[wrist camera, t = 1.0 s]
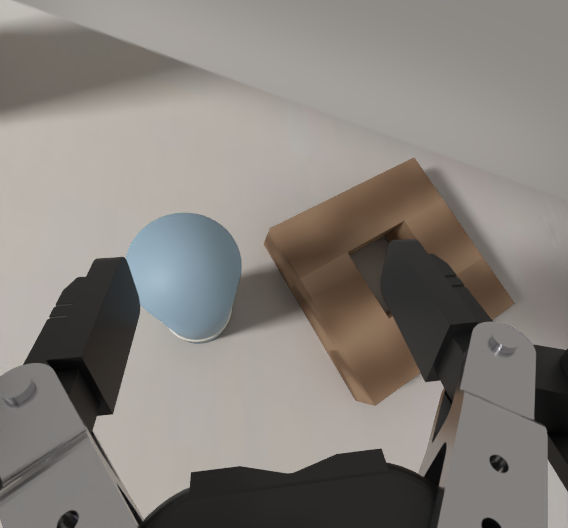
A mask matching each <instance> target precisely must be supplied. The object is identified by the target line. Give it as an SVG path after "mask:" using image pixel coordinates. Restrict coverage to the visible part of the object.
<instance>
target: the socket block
mask: <svg viewBox="0 0 568 528" xmlns="http://www.w3.org/2000/svg"><path fill="white" fill-rule="evenodd" d="M383 236H385V238H386V239H387V241H388V242H389V243H390V242H391V241H392V240H405V239H417V240H418V241H419V242H420V243H421V245H422V246H423V247H424V249H425V250H426V251H427V253H428V254H435V255H436V256H438V257H439V258H441V259H442V260H444V261H445V262H447V263H448V264H449V266H450V267H451V268H452V269H453V271H454V272H455V273H456V275H457V277H459V278H460V280H461V281H462V282H463V283H464V287H467V289H468V290H469V291H470V292H471V294H472V295H473V296H474V298H475V299H476V300H477V301H478V303H479V304H480V305H481V306H482V308H483V309H484V310H485V312H486V313H487V314H488V315H489V317H490V318H491V319H492V320H493V319H494V318H496V317H497V316H498V315H500V314H501V313H502V312H504V311H505V310H506V309H508V308H509V307H511V306H512V305H513V304H515V303H514V302H513V300H512V299H511V297H510V296H509V295H508V293H507V292H506V290H505V289H504V287H503V286H502V284H501V283H500V281H499V280H498V279H497V277H496V276H495V274H494V273H493V271H492V270H491V268H490V267H489V265H488V264H487V263H486V261H485V260H484V258H483V257H482V255H481V254H480V252H479V251H478V250H477V248H476V247H475V245H474V244H473V242H472V241H471V239H470V238H469V236H468V235H467V234H466V232H465V231H464V229H463V228H462V226H461V225H460V223H459V222H458V220H457V219H456V218H455V216H454V215H453V213H452V212H451V210H450V209H449V207H448V206H447V204H446V203H445V202H444V200H443V199H442V197H441V196H440V194H439V193H438V191H437V190H436V188H435V187H434V186H433V184H432V183H431V181H430V180H429V178H428V177H427V175H426V174H425V172H424V171H423V170H422V168H421V167H420V165H419V164H418V162H417V161H416V159H415V158H412V159H410V160H408V161H406V162H404V163H402V164H400V165H398V166H396V167H394V168H392V169H390V170H388V171H386V172H384V173H381V174H379V175H377V176H375V177H373V178H371V179H369V180H367V181H365V182H363V183H361V184H359V185H357V186H355V187H353V188H351V189H349V190H347V191H345V192H343V193H341V194H339V195H337V196H335V197H333V198H331V199H329V200H327V201H325V202H323V203H321V204H319V205H317V206H315V207H312V208H310V209H308V210H306V211H304V212H302V213H300V214H298V215H296V216H294V217H292V218H290V219H288V220H286V221H284V222H282V223H280V224H278V225H276V226H274V227H272V228H270V230H269V232H268V235H267V237H266V240H265V242H264V245H265V247H266V249H267V250H268V252H269V254H270V255H271V257H272V259H273V261H274V262H275V264H276V266H277V267H278V269H279V271H280V272H281V274H282V276H283V278H284V279H285V281H286V283H287V284H288V286H289V288H290V290H291V291H292V293H293V295H294V296H295V298H296V300H297V301H298V303H299V305H300V307H301V308H302V310H303V312H304V313H305V315H306V317H307V318H308V320H309V322H310V324H311V325H312V327H313V329H314V330H315V332H316V334H317V335H318V337H319V339H320V341H321V342H322V344H323V346H324V347H325V349H326V351H327V353H328V354H329V356H330V358H331V359H332V361H333V363H334V364H335V366H336V368H337V370H338V371H339V373H340V375H341V376H342V378H343V380H344V381H345V383H346V385H347V387H348V388H349V390H350V392H351V393H352V395H353V397H354V398H355V400H356V401H359V402H363V403H367V404H371V405H375V406H376V405H377V404H378V403H380V402H381V401H382V400H384V399H385V398H386V397H388V396H389V395H391V394H392V393H393V392H395V391H396V390H397V389H399V388H400V387H401V386H403V385H404V384H406V383H407V382H408V381H410V380H411V379H412V378H414V377H415V376H416V375H418V374H419V373H421V372H420V370H419V368H418V366H417V364H416V362H415V360H414V358H413V356H412V354H411V352H410V350H409V348H408V346H407V344H406V342H405V340H404V338H403V336H402V334H401V332H400V330H399V328H398V326H397V324H396V322H395V320H394V318H393V316H392V314H391V312H390V311H389V312H387V313H385V312H384V310H383V308H382V307H381V305H380V304H379V302H378V300H377V299H376V297H375V296H374V294H373V292H372V291H371V289H370V288H369V286H368V284H367V283H366V281H365V280H364V278H363V276H362V275H361V273H360V272H359V270H358V268H357V267H356V265H355V264H354V262H353V260H352V259H351V257H350V256H349V255H351V254H353V253H355V252H356V251H358V250H360V249H362V248H363V247H365V246H367V245H369V244H371V243H372V242H374V241H376V240H378V239H380V238H381V237H383Z"/></svg>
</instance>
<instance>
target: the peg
mask: <svg viewBox="0 0 568 528" xmlns="http://www.w3.org/2000/svg"><path fill="white" fill-rule="evenodd" d="M126 260H127V262H128V265H129V268H130V271H131V274H132V277H133V280H134V283H135V286H136V289H137V292H138V295H139V300H140V305H141V306H142V307H143V308H144V309H145V310H147V311H148V312H149V313H151V314H152V315H153V316H154V317H156V318H157V319H158V320H159V321H161V322H162V323H163V324H164V325H166V326H167V327H168V328H169V329H170V331H171V332H172V333H174V334H175V335H176V336H178V337H179V338H181V339H184V340H186V341H188V342H191V343H197V344H200V343H207V342H210V341H212V340H214V339H215V338H217V337H218V336H219V335H220V334H221V333H222V332H223V331H224V329H225V327H226V325H227V324H228V322H229V320H230V317H231V313H232V305H233V301H234V298H235V294H236V291H237V287H238V284H239V280H240V276H241V256H240V252H239V249H238V246H237V244H236V242H235V240H234V239H233V237H232V236H231V234H230V233H229V232H228V231H227V230H226V229H225V228H224V227H223V226H222V225H220V224H219V223H217V222H216V221H214V220H212V219H210V218H208V217H205V216H203V215H199V214H194V213H175V214H170V215H166V216H164V217H161V218H158V219H156V220H155V221H153V222H151V223H150V224H148V225H147V226H146V227H144V228H143V229H142V230H141V231H140V232H139V233H138V234H137V236H136V237H135V238H134V240H133V241H132V243H131V245H130V247H129V250H128V253H127V256H126Z"/></svg>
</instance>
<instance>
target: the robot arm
mask: <svg viewBox="0 0 568 528" xmlns="http://www.w3.org/2000/svg"><path fill="white" fill-rule="evenodd" d="M381 291H382V295H383V297H384V300H385V302H386V304H387V306H388V308H389V310H390V312H391V314H392V316H393V318H394V320H395V322H396V324H397V326H398V328H399V330H400V332H401V334H402V336H403V338H404V340H405V342H406V344H407V346H408V348H409V350H410V352H411V354H412V356H413V358H414V360H415V362H416V364H417V366H418V368H419V370H420V372H421V374H422V376H423V378H424V380H425V382H430V381H439V380H440V381H441V382H442V384H443V386H444V389H443V391H442V394H441V397H440V401H439V405H438V409H437V412H436V416H435V420H434V424H433V428H432V432H431V435H430V439H429V443H428V447H427V450H426V453H425V456H424V459H423V461H422V464H421V466H420V469H419V472H418V474H417V473H416V472H414V471H411V470H409V469H407V468H404V467H402V466H398V465H395V464H391V463H386V461H385V458H384V455H383V452H382V449H374V450H366V451H358V452H350V453H342V454H336V455H334V456H331V457H329V458H327V459H324V460H322V461H320V462H318V463H315V464H313V465H311V466H308V467H306V468H304V469H301V470H299V471H297V472H294V473H289V474H287V473H280V472H273V471H267V470H260V469H254V468H247V467H241V466H238V467H231V468H223V469H215V470H207V471H199V472H191V481H190V487H189V488H187V489H185V490H183V491H181V492H179V493H177V494H175V495H174V496H172V497H170V498H169V499H168V500H166V501H165V502H163V503H162V504H161V505H159V506H158V507H157V508H156V509H155V510H154V511H153V512H152V513H150V514H149V515H148V516H147V517H146V518H145V519H143V517H142V515H141V514H140V512H139V510H138V509H137V507H136V505H135V503H134V502H133V500H132V499H131V497H130V495H129V494H128V492H127V490H126V488H125V487H124V485H123V483H122V481H121V480H120V478H119V476H118V474H117V473H116V471H115V469H114V467H113V465H112V464H111V462H110V460H109V458H108V457H107V455H106V453H105V451H104V449H103V448H102V446H101V444H100V442H99V441H98V439H97V437H96V435H95V433H94V432H93V427H94V424H95V420H96V417H97V416H100V415H110V414H113V412H114V408H115V404H116V401H117V397H118V393H119V389H120V386H121V382H122V378H123V375H124V371H125V367H126V363H127V360H128V356H129V352H130V348H131V345H132V341H133V337H134V334H135V330H136V326H137V322H138V319H139V314H140V300H139V295H138V292H137V289H136V286H135V283H134V280H133V277H132V274H131V271H130V268H129V265H128V262H127V260H126V259H125V258H124V257H115V258H100V259H95V260H94V262H93V264H92V266H91V268H90V270H89V272H88V274H87V276H86V277H77V278H76V279H75V280H74V281H73V282H72V283H71V284H70V285H69V286H67V287H66V288H65V289H64V290H63V292H62V294H61V295H60V297H59V299H58V301H57V303H56V307H54V308H53V310H52V312H51V314H50V316H49V317H50V319H48V320H47V321H46V323H45V325H44V327H43V329H42V331H41V333H40V334H39V336H38V338H37V340H36V342H35V344H34V346H33V347H32V349H31V351H30V353H29V355H28V357H27V359H26V360H25V362H24V364H23V365H22V366H19V367H16V368H14V369H12V370H10V371H8V372H6V373H4V374H3V375H2V376H0V519H1V523H2V526H3V528H548V460H549V462H550V463H551V465H552V467H553V468H554V470H555V472H556V473H557V475H558V476H559V478H560V480H561V481H562V483H563V485H564V486H565V488H566V489H567V491H568V349H567V350H562V349H556V348H550V347H544V346H538V345H533V344H532V343H531V341H530V340H529V339H528V338H527V337H526V336H525V335H524V334H522V333H521V332H520V331H518V330H516V329H515V328H513V327H511V326H508V325H506V324H502V323H498V322H493V320H492V319H491V318H490V317H489V315H488V314H487V313H486V312H485V310H484V309H483V308H482V306H481V305H480V304H479V303H478V301H477V300H476V299H475V298H474V296H473V295H472V294H471V292H470V291H469V290H468V289H467V287H464V283H463V282H462V281H461V280H460V278H459V277H457V275H456V273H455V272H454V271H453V269H452V268H451V267H450V266H449V264H448V263H447V262H445V261H444V260H442V259H441V258H439V257H438V256H436V255H435V254H428V253H427V251H426V250H425V249H424V247H423V246H422V245H421V243H420V242H419V241H418V240H417V239H405V240H392V241H391V242H390V243H389V246H388V249H387V254H386V258H385V263H384V267H383V271H382V276H381Z"/></svg>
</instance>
